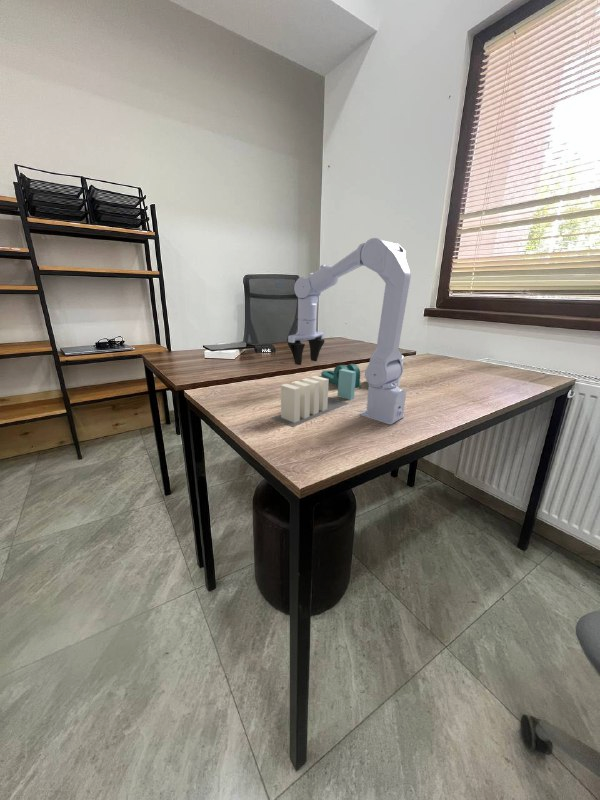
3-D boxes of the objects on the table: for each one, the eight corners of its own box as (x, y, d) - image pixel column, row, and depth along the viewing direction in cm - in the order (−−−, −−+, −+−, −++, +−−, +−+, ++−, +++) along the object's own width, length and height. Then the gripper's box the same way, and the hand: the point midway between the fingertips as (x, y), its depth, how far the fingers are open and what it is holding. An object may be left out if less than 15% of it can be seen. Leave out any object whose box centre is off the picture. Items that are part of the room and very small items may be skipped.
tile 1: (353, 399, 97) (356, 371, 94) (350, 400, 96) (352, 372, 93) (341, 395, 100) (342, 368, 97) (337, 396, 99) (339, 369, 96)
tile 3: (318, 412, 85) (319, 381, 82) (313, 414, 84) (314, 383, 81) (305, 408, 88) (306, 378, 85) (300, 409, 87) (301, 379, 84)
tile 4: (309, 416, 83) (310, 384, 80) (304, 418, 81) (305, 386, 78) (296, 411, 86) (296, 380, 83) (291, 413, 85) (291, 382, 81)
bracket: (359, 387, 109) (361, 366, 106) (343, 390, 106) (344, 368, 104) (332, 375, 124) (333, 356, 122) (318, 377, 122) (318, 357, 119)
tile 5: (299, 420, 80) (300, 387, 77) (294, 422, 79) (294, 389, 76) (286, 415, 83) (286, 383, 80) (281, 417, 82) (280, 385, 79)
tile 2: (327, 409, 88) (328, 379, 85) (322, 411, 86) (324, 380, 83) (314, 404, 91) (315, 375, 88) (309, 406, 90) (310, 376, 87)
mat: (348, 404, 93) (348, 403, 93) (292, 428, 76) (292, 427, 76) (328, 397, 98) (328, 396, 98) (271, 418, 82) (271, 417, 81)
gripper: (312, 317, 102) (311, 357, 107) (281, 319, 93) (281, 363, 97) (329, 319, 98) (327, 360, 103) (297, 321, 88) (297, 367, 93)
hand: (306, 362), depth 100 cm, fingers open, 7 cm apart
